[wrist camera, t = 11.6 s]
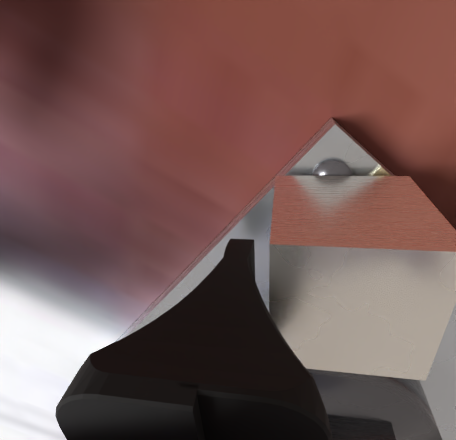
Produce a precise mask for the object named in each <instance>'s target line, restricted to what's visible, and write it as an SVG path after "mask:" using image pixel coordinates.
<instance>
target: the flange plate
mask: <svg viewBox="0 0 456 440" xmlns="http://www.w3.org/2000/svg"><path fill="white" fill-rule="evenodd" d="M277 175H281V176H395V175H394V174H393V173H392V172H391V171H389V170H388V169H387V168H386V167H385V166H384V165H383V164H382V163H381V162H380V161H379V160H377V159H376V158H375V157H374V156H373V155H372V154H371V153H370V152H369V151H368V150H367V149H365V148H364V147H363V146H362V145H361V144H360V143H359V142H358V141H357V140H356V139H355V138H353V137H352V136H351V135H350V134H349V133H348V132H347V131H346V130H345V129H344V128H343V127H341V126H340V125H339V124H338V123H337V122H336V121H335V120H334V119H333V118H331V119H330V120H329V121H328V122H327V123H326V124H325V125H324V126H323V127H322V128H321V129H320V130H319V131H318V132H317V133H316V134H315V135H314V136H313V137H312V138H311V139H310V140H309V141H308V142H307V144H306V145H305V146H304V147H303V148H302V149H301V150H300V151H299V152H298V153H297V154H296V155H295V156H294V157H293V158H292V159H291V160H290V161H289V162H288V163H287V164H286V165H285V166H284V167H283V168H282V169H281V171H280V172H279V173H278V174H277ZM274 188H275V177H274V178H273V179H272V180H271V181H270V182H269V183H268V184H267V185H266V186H265V187H264V188H263V189H262V190H261V191H260V192H259V193H258V194H257V195H256V197H255V198H254V199H253V200H252V201H251V202H250V203H249V204H248V205H247V206H246V207H245V208H244V209H243V210H242V211H241V212H240V213H239V214H238V215H237V216H236V217H235V218H234V219H233V220H232V221H231V222H230V224H229V225H228V226H227V227H226V228H225V229H224V230H223V231H222V232H221V233H220V234H219V235H218V236H217V237H216V238H215V239H214V240H213V241H212V242H211V243H210V244H209V245H208V246H207V247H206V248H205V249H204V251H203V252H202V253H201V254H200V255H199V256H198V257H197V258H196V259H195V260H194V261H193V262H192V263H191V264H190V265H189V266H188V267H187V268H186V269H185V270H184V271H183V272H182V273H181V274H180V275H179V277H178V278H177V279H176V280H175V281H174V282H173V283H172V284H171V285H170V286H169V287H168V288H167V289H166V290H165V291H164V292H163V293H162V294H161V295H160V296H159V297H158V298H157V299H156V300H155V301H154V302H153V304H152V305H151V306H150V307H149V308H148V309H147V310H146V311H145V312H144V313H143V314H142V315H141V316H140V317H139V318H138V319H137V320H136V321H135V322H134V323H133V324H132V325H131V326H130V327H129V328H128V330H127V331H126V332H125V333H124V334H123V335H122V336H121V337H120V338H119V339H118V340H120V339H122V338H124V337H126V336H128V335H130V334H132V333H133V332H135V331H137V330H139V329H140V328H142V327H144V326H145V325H147V324H149V323H150V322H152V321H153V320H155V319H157V318H158V317H159V316H161V315H162V314H164V313H165V312H166V311H168V310H169V309H171V308H172V307H173V306H175V305H176V304H177V303H178V302H180V301H181V300H182V299H183V298H184V297H186V296H187V295H188V294H189V293H190V292H191V291H192V290H193V289H194V288H196V287H197V286H198V285H199V284H200V283H201V281H202V280H203V279H204V278H205V277H206V276H207V275H208V274H209V273H210V272H211V271H212V270H213V269H214V268H215V266H216V265H217V264H218V263H219V262H220V261H221V259H222V258H223V257H224V252H225V248H226V246H227V244H228V242H229V240H230V239H254V249H255V281H256V284H257V287H258V289H259V292H260V294H261V297H262V299H263V302H264V304H265V306H266V308H267V310H268V312H269V252H270V233H271V222H272V210H273V199H274ZM118 340H117V341H118ZM419 381H420V383H421V386H422V388H423V390H424V393H425V395H426V398H427V401H428V403H429V406H430V408H431V411H432V414H433V416H434V419H435V421H436V424H437V427H438V429H439V432H440V435H441V437H442V440H456V303H455V306H454V308H453V311H452V314H451V316H450V319H449V321H448V324H447V327H446V329H445V332H444V334H443V337H442V340H441V342H440V345H439V347H438V350H437V353H436V355H435V358H434V360H433V363H432V366H431V368H430V371H429V373H428V376H427V379H426V381H424V380H419Z"/></svg>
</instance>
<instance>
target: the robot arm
mask: <svg viewBox="0 0 456 440" xmlns="http://www.w3.org/2000/svg"><path fill="white" fill-rule="evenodd" d="M56 418H57V421H58V424H59V426H60V428H61V430H62V432H63V434H64V435H65V437H66V439H67V440H332V432H331V427H330V423H329V419H328V415H327V412H326V409H325V406H324V403H323V401H322V398H321V395H320V393H319V390H318V388H317V385H316V383H315V380H314V378H313V376H312V375H311V374H310V373H309V371H308V370H307V369H306V368H305V367H304V365H303V364H302V363H301V361H300V360H299V359H298V358H297V356H296V355H295V354H294V352H293V351H292V349H291V348H290V347H289V345H288V344H287V342H286V341H285V339H284V338H283V336H282V334H281V333H280V331H279V329H278V328H277V326H276V325H275V323H274V321H273V319H272V318H271V316H270V314H269V312H268V310H267V308H266V306H265V304H264V302H263V299H262V297H261V294H260V292H259V289H258V287H257V284H256V281H255V249H254V239H230V240H229V242H228V244H227V246H226V248H225V252H224V257H223V258H222V259H221V261H220V262H219V263H218V264H217V265H216V266H215V268H214V269H213V270H212V271H211V272H210V273H209V274H208V275H207V276H206V277H205V278H204V279H203V280H202V281H201V283H200V284H199V285H198V286H197V287H196V288H194V289H193V290H192V291H191V292H190V293H189V294H188V295H187V296H186V297H184V298H183V299H182V300H181V301H180V302H178V303H177V304H176V305H175V306H173V307H172V308H171V309H169V310H168V311H166V312H165V313H164V314H162V315H161V316H159V317H158V318H157V319H155V320H153V321H152V322H150V323H149V324H147V325H145V326H144V327H142V328H140V329H139V330H137V331H135V332H133V333H132V334H130V335H128V336H126V337H124V338H122V339H120V340H118V341H116V342H114V343H112V344H110V345H108V346H106V347H104V348H102V349H100V350H98V351H96V352H94V353H91V354H90V355H89V357H88V358H87V360H86V361H85V362H84V364H83V365H82V366H81V368H80V369H79V371H78V373H77V374H76V376H75V377H74V379H73V381H72V382H71V384H70V386H69V387H68V389H67V390H66V392H65V394H64V395H63V397H62V399H61V400H60V402H59V404H58V405H57V407H56Z"/></svg>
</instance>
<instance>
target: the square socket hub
mask: <svg viewBox="0 0 456 440" xmlns="http://www.w3.org/2000/svg"><path fill="white" fill-rule="evenodd" d="M455 303H456V230H455V229H454V228H453V226H452V225H451V224H450V223H449V222H448V221H447V220H446V218H445V217H444V216H443V215H442V214H441V213H440V211H439V210H438V209H437V208H436V207H435V206H434V204H433V203H432V202H431V201H430V200H429V199H428V197H427V196H426V195H425V194H424V193H423V192H422V190H421V189H420V188H419V187H418V186H417V185H416V183H415V182H414V181H413V180H412V179H411V178H410V176H281V175H276V176H275V188H274V199H273V210H272V222H271V233H270V252H269V314H270V316H271V318H272V319H273V321H274V323H275V325H276V326H277V328H278V329H279V331H280V333H281V334H282V336H283V338H284V339H285V341H286V342H287V344H288V345H289V347H290V348H291V349H292V351H293V352H294V354H295V355H296V356H297V358H298V359H299V360H300V361H301V363H302V364H303V365H304V367H305V368H306V369H307V370H308V371H309V373H310V374H311V375H312V376H313V378H314V380H315V383H316V385H317V388H318V390H319V393H320V395H321V398H322V401H323V403H324V406H325V409H326V412H327V415H328V419H329V423H330V427H331V432H332V440H442V437H441V435H440V432H439V429H438V427H437V424H436V421H435V419H434V416H433V414H432V411H431V408H430V406H429V403H428V401H427V398H426V395H425V393H424V390H423V388H422V386H421V383H420V381H419V380H424V381H426V379H427V376H428V373H429V371H430V368H431V366H432V363H433V360H434V358H435V355H436V353H437V350H438V347H439V345H440V342H441V340H442V337H443V334H444V332H445V329H446V327H447V324H448V321H449V319H450V316H451V314H452V311H453V308H454V306H455Z"/></svg>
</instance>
